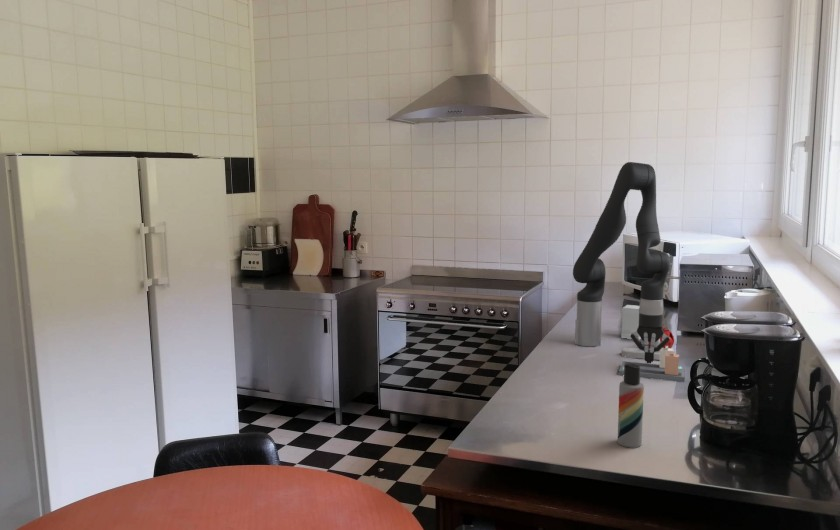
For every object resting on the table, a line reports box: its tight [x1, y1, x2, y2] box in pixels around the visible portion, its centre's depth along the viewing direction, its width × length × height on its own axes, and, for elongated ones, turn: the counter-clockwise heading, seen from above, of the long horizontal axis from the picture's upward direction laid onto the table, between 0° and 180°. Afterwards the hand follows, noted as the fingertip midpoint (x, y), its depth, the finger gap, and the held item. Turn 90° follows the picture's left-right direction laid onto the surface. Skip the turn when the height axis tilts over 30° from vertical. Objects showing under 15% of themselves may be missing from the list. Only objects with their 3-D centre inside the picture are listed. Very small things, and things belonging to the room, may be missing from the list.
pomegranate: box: [649, 326, 675, 349], centre depth 250 cm, size 10×10×9 cm
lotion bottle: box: [617, 364, 645, 449], centre depth 163 cm, size 6×6×20 cm
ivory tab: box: [659, 346, 674, 368], centre depth 221 cm, size 4×3×7 cm
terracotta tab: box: [665, 351, 680, 375], centre depth 214 cm, size 4×3×7 cm
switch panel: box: [618, 360, 686, 382], centre depth 220 cm, size 20×12×2 cm, turn 68°
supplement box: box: [620, 304, 642, 341], centre depth 266 cm, size 7×7×13 cm
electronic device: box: [621, 339, 660, 361], centre depth 239 cm, size 5×10×15 cm
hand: (648, 362), depth 223 cm, fingers closed
